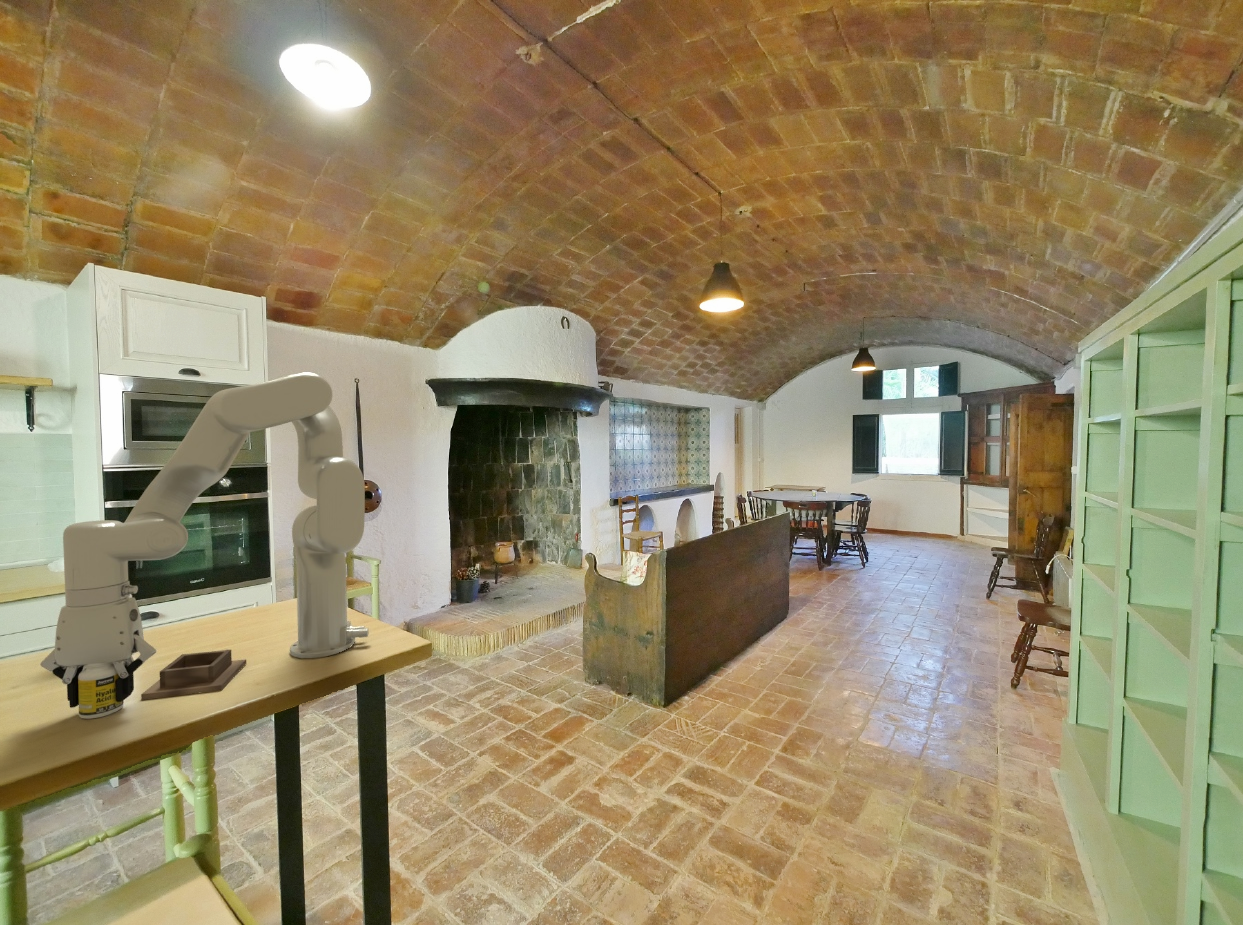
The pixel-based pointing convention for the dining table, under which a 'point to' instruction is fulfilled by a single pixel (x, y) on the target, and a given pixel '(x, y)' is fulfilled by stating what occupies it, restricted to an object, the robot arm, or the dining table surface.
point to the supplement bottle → (98, 690)
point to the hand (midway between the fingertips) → (101, 700)
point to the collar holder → (195, 674)
